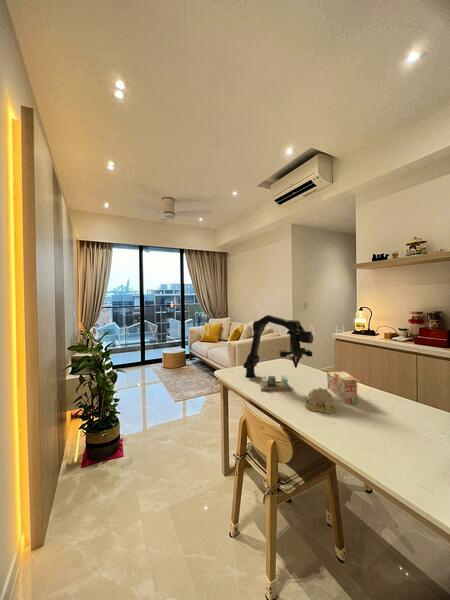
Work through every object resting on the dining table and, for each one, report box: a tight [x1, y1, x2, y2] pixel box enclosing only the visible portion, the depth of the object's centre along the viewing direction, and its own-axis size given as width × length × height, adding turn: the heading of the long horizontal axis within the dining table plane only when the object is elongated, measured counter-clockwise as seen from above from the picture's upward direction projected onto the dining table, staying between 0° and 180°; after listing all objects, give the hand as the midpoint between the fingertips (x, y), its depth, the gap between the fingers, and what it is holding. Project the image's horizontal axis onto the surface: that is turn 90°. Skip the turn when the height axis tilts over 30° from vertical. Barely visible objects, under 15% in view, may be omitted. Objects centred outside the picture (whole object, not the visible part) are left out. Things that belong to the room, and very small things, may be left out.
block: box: [267, 375, 277, 387], centre depth 150 cm, size 4×4×5 cm
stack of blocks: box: [326, 371, 358, 404], centre depth 136 cm, size 21×6×12 cm, turn 1°
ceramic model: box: [304, 387, 338, 414], centre depth 122 cm, size 14×11×10 cm
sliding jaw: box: [280, 374, 289, 387], centre depth 150 cm, size 8×2×4 cm, turn 176°
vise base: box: [259, 375, 292, 392], centre depth 150 cm, size 12×17×6 cm
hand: (295, 367), depth 149 cm, fingers closed
